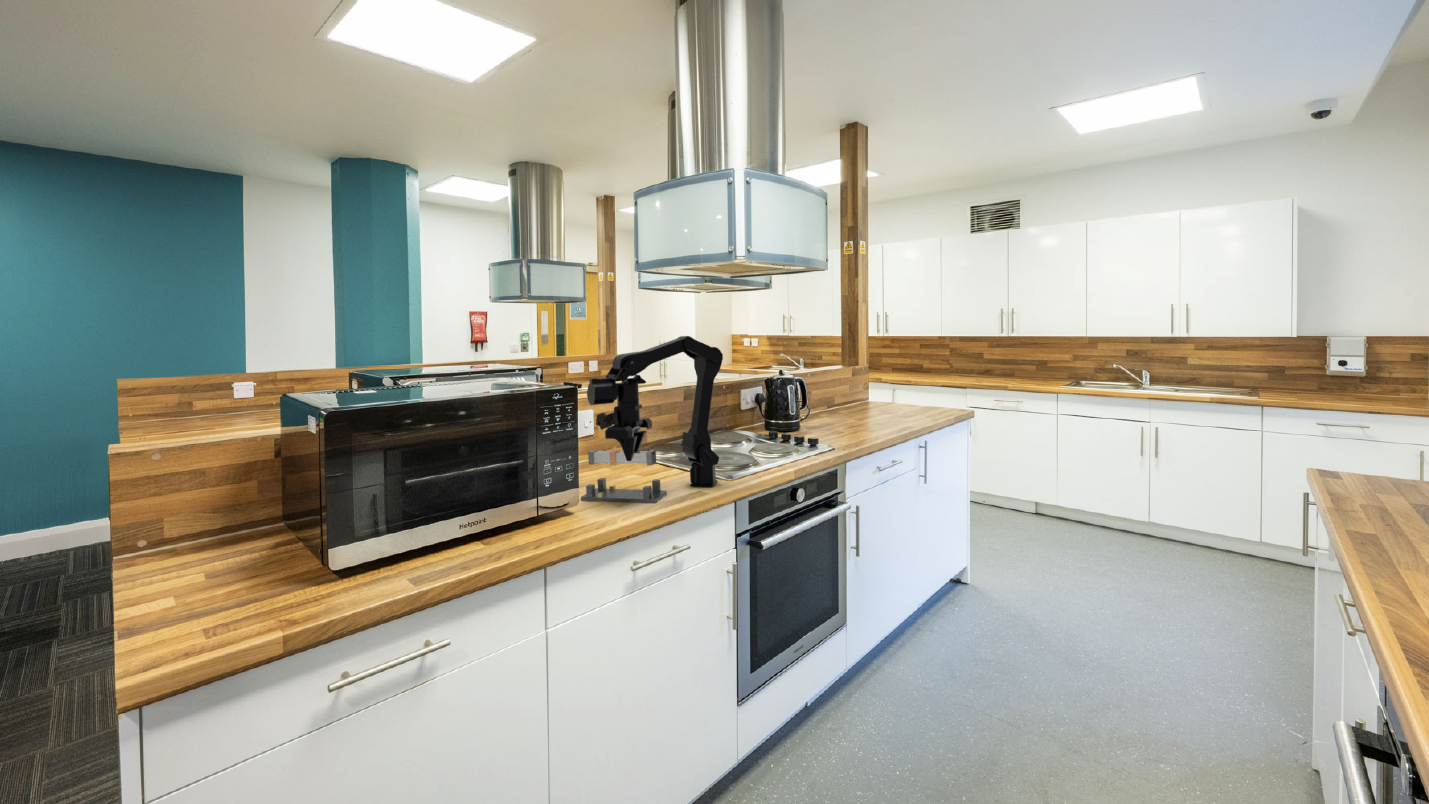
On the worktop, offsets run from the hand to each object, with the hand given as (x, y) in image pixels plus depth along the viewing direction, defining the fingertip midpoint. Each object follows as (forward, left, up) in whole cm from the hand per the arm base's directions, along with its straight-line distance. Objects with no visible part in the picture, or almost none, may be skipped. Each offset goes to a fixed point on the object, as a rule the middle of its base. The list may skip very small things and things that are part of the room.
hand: (631, 459), depth 160 cm
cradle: (+3, 0, -10) cm, 11 cm away
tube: (+3, 0, -1) cm, 3 cm away
